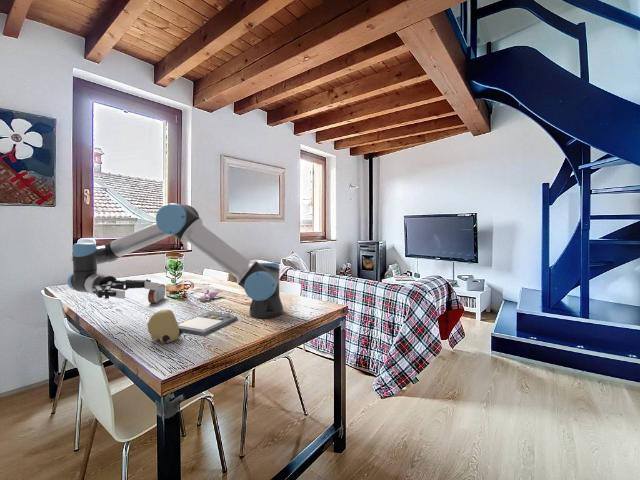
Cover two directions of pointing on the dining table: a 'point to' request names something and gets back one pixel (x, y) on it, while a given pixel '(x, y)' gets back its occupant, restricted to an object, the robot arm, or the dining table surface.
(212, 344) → the dining table surface
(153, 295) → the tin
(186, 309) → the dining table surface
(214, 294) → the rabbit figure
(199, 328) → the breaker panel
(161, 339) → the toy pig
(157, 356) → the dining table surface
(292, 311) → the dining table surface
